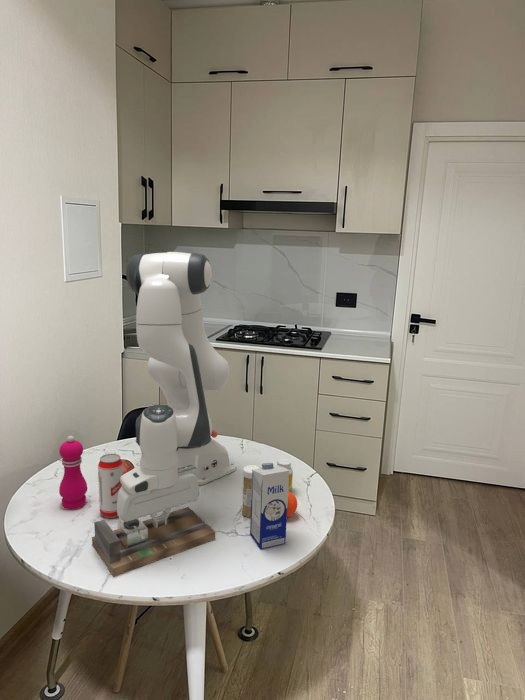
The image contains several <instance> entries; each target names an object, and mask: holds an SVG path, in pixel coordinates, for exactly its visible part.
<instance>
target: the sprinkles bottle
mask: <svg viewBox="0 0 525 700" xmlns="http://www.w3.org/2000/svg"><path fill="white" fill-rule="evenodd" d="M259 468H260V467H259V466H258V465H255V464H254V465H252V464H250V465H245V466H244V467H243V468H242V476H243V481H242V482H243V483H242V510H241V515H243V516H244V517H245V518H251V492H252V469H259Z"/></svg>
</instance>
